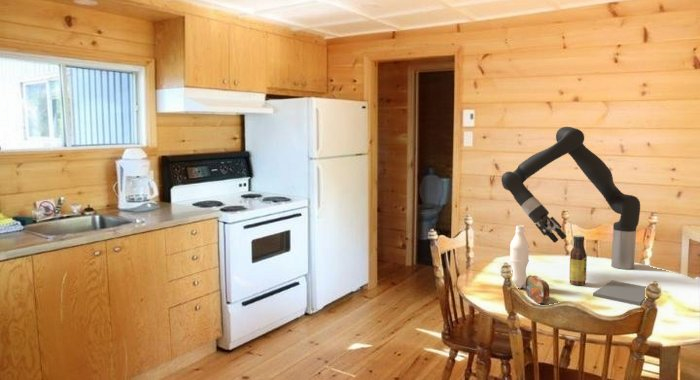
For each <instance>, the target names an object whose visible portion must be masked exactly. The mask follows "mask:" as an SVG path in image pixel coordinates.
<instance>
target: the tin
mask: <svg viewBox="0 0 700 380" xmlns="http://www.w3.org/2000/svg"><path fill="white" fill-rule="evenodd" d="M525 286H526V288H525V292H526V295H527V297H528V298H530V299H531V300H533V301H534V302H535V303H537V304H547V303H548V302H549V299H550V291H551V289H550V285H549V284H548V282H547V281H546V280H544V279H542V278H541V277H539V276H537V275H531V274H530V275H529V274H528V276H527V279H526V285H525Z"/></svg>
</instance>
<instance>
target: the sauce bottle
mask: <svg viewBox="0 0 700 380" xmlns="http://www.w3.org/2000/svg"><path fill="white" fill-rule="evenodd" d="M584 240H585V236H584V235H579V234H576V235H573V248H572V249H571V250H570V253H569V254H570V255H569V257H570V258H569V283H570V284H571V285H573V286H584V285H586V281H587V265H588V264H587V262H588V261H587V257H588V255H587V252H586V249H585V247H584V246H585V245H584V244H585V241H584Z"/></svg>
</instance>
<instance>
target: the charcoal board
mask: <svg viewBox="0 0 700 380" xmlns="http://www.w3.org/2000/svg"><path fill="white" fill-rule="evenodd" d="M646 287H647V286H645V285H641V284H635V283H628V282H624V281H623V282H622V281H616V280H609V281H608V282H607V283H606V284H604V285H603V286H601V287H599V288H598V289H597V290H595V291H594V292H593V293H592V297H596V298H600V299H606V300H610V301H616V302H620V303H624V304H625V303H626V304H630V305H636V306H639V307H640V306H641V305H643V304H644V302H645V301H644V300H645V298H646V297H645V288H646ZM643 301H644V302H643Z"/></svg>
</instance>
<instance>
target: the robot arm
mask: <svg viewBox="0 0 700 380" xmlns="http://www.w3.org/2000/svg"><path fill="white" fill-rule="evenodd" d="M555 134H556V135H555V140H556V143H554V144H553V145H551V146H549V147H548V148H546V149H544V150H541V151H538V152H536V153H535V154H532V155H530V157H528V158H527V159H525V160H524V161H522V162H521V163H520V164H518V166H517V168H516V169H515V170H514V171H506V172H504V173H503V174H502V176H501V185H502V187H503V189H504V190H506V191H509V193H510V194H511V195H512V197H513V198H514V201H516V203H517V204H518V205H519V206H520V207H521V209H522V211H523V212H524V213H525V214H526V215H527V216H528V218H529V219H530V220H531V221H532V222H533V223H534V224H535V226H536V228H537V229H538V230H539V231H540V232H541V234H542V235H543V236H547V237H548V238H549V239H550V240H551V241H552V242H553V243H554V244H555V243H557V242H558V241H559V238H560V239H561V240H565V238H567V234H565V232H563V230H562V225H561V224H560V222H558V221H557V220H556V218H554V217H553V216H551V217H549V216H548V215H549V214H550V212H549V210H548V209H547V208H546V207H545V206H544V205H543V204H542V203H541V202H540V201H539V199H537V197H535V195H534V194H533V193H532V192H531V191H530V190H529V189H528V187H526V185H525V184H524V182H526V181H527V180H528V179H529V178H530V177H532V176H534V174H536V173H538V172H539V171H540V170H542V169H544V168H545V167H546V166H547V165H549V164H551V163H552V162H554V161H556V160H557V159H559V158H561V157H562V156H565V155H567V154H568V155H570V157H571V158H572V159H573V160H574V162H575V163H576V164H577V166H578V168H579V169H581V171H582V173H583V174H584V175H585V177H586V178H587V179H588V180H589V181H590V183H592V184H593V186H594V187H595V188H596V189H597V191H598V192H599V193H600V194H601V196H603V198H604V200H605V201H606V202H607V204H608V206H609V207H610V209H611V210H612V211H613V212H614V213H616V214H619V215H620V218H619V220H618V221H615V222H614V223H613V225H612V226H613V227H612V228H613V229H612V245H611V246H612V247H611V264H610V265H611V267H613V268H614V269H615V268H617V269H621V270H631V269H634V268H635V258H636V257H635V256H636V239H637V227H638V225H639V221H640V214H641V201H640V199H639V198H638V197H637V196H635V195H630V194H625V193H623V192H622V191H621V190H620V189H619V188H618V187H617V186H616V185H615V183H614V178H613V174H612V173H613V172H611V170H610V168H609V167H608V166H607V165H606V163H605V162H604V160H602V159H601V158H600V157H599V156H598V155H596V154H595V153H594V152H593V151H592V150H590V149H589V148H587V147H586V145H585V144H584V141H585V134H584V133H583V131H581V130H580V129H578V128H576V127H572V126H563V127H560V128H559V129H558V130H557V131H556V133H555ZM554 232H555V233H556V234H557V236H556V235H555V233H554ZM558 236H559V238H558Z"/></svg>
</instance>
